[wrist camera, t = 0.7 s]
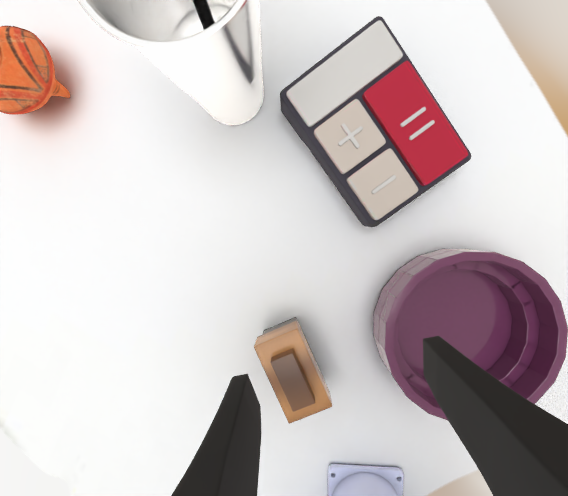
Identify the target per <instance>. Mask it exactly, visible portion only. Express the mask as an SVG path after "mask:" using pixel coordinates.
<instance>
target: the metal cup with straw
mask: <svg viewBox="0 0 568 496" xmlns="http://www.w3.org/2000/svg"><path fill="white" fill-rule="evenodd" d="M78 2H79V3H80V5H81V6H82V8H83V9H84V10H85V12H86V13H87V14H88V15H89V16H90V17H91V18H92V20H93V21H94V22H95V23H96V24H97V25H99V26H100V27H101V28H102V29H103V30H104V31H106V32H107V33H108V34H110V35H111V36H113V37H115V38H116V39H118V40H120V41H122V42H124V43H126V44H129V45H131V46H134V47H135V48H136V49H137V50H139V51H140V52H141V53H142V54H143V55H144V56H145V57H146V58H147V59H149V60H150V61H151V62H152V63H153V64H154V65H155V66H156V67H157V68H158V69H160V70H161V71H162V72H163V73H164V74H165V75H166V76H167V77H168V78H169V79H171V80H172V81H173V82H174V83H175V84H176V85H177V86H178V87H179V88H180V89H182V90H183V91H184V92H185V93H186V94H188V95H189V96H191V97H192V98H193V99H194V100H195V101H196V102H197V103H198V104H199V105H200V106H201V107H202V108H203V109H204V110H206V111H207V112H208V113H209V115H210V116H211V117H212V118H214V119H215V120H216V121H218V122H220V123H222V124H225V125H240V124H243V123H246V122H248V121H249V120H251V119H252V118H253V117H254V116H255V115H256V114H257V113H258V111H259V110H260V108H261V105H262V103H263V98H264V87H263V77H262V64H261V56H262V46H261V28H260V9H259V0H78Z"/></svg>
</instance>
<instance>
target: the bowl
mask: <svg viewBox="0 0 568 496" xmlns="http://www.w3.org/2000/svg"><path fill="white" fill-rule="evenodd" d="M373 334H374V338H375V342H376V345H377V349H378V352H379V355H380V358H381V359H382V361H383V362H384V364H385V365H386V367H387V368H388V370H389V371H390V373H391V375H392V376H393V378H394V379H395V380H396V382H397V383H398V385H399V386H400V387H401V389H402V390H403V392H404V393H405V395H406V396H407V397H408V398H409V399H410V400H411V401H413V402H414V403H415V404H417V405H418V406H419V407H421V408H422V409H423V410H425V411H426V412H427V413H429V414H431V415H434V416H437V417H440V418H443V419H446V420H448V419H447V417H446V416H445V414H444V412H443V411H442V409H441V408H440V406H439V404H438V403H437V401H436V399H435V397H434V395H433V393H432V391H431V389H430V387H429V385H428V383H427V381H426V379H425V376H424V372H423V339H424V338H429V337H434V336H440V337H441V338H443V339H444V340H445V341H446V342H448V343H449V344H450V345H452V346H453V347H454V348H455V349H457V350H458V351H459V352H461V353H462V354H463V355H465V356H466V357H467V358H469V359H470V360H471V361H473V362H474V363H475V364H477V365H478V366H479V367H481V368H482V369H483V370H485V371H486V372H488V373H489V374H490V375H492V376H493V377H495V378H496V379H497V380H499V381H500V382H502V383H503V384H505V385H506V386H508V387H509V388H510V389H512V390H513V391H515V392H516V393H518V394H520V395H521V396H523V397H524V398H526V399H527V400H529V401H530V402H532V403H533V404H535V403H536V402H537V401H538V400H539V399H540V398H541V397H542V396H543V395H544V393H545V392H546V391H547V390H548V389H549V388H550V387H551V386H552V385H553V383H554V382H555V380H556V378H557V376H558V373H559V371H560V369H561V367H562V364H563V362H564V360H565V358H566V357H565V356H566V347H567V335H568V327H567V323H566V319H565V315H564V312H563V308H562V304H561V301H560V300H559V298H558V297H557V295H556V294H555V292H554V291H553V289H552V288H551V286H550V285H549V283H548V282H547V280H546V279H545V278H544V277H542V276H541V275H540V274H538V273H537V272H536V271H534V270H533V269H532V268H530V267H529V266H528V265H526V264H525V263H524V262H522V261H519V260H516V259H513V258H510V257H508V256H505V255H502V254H499V253H496V252H489V251H480V250H471V249H440V250H437V251H433V252H430V253H426V254H423V255H419V256H417V257H416V258H414V259H413V260H411V261H410V262H408V263H407V264H405V265H404V266H402V267H401V268H399V269H398V270H397V271H396V273H395V274H394V275H393V276H392V278H391V279H390V280H389V281H388V283H387V284H386V285H385V286H384V288H383V289H382V291H381V294H380V297H379V299H378V302H377V305H376V307H375V310H374V328H373ZM448 421H449V420H448Z"/></svg>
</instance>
